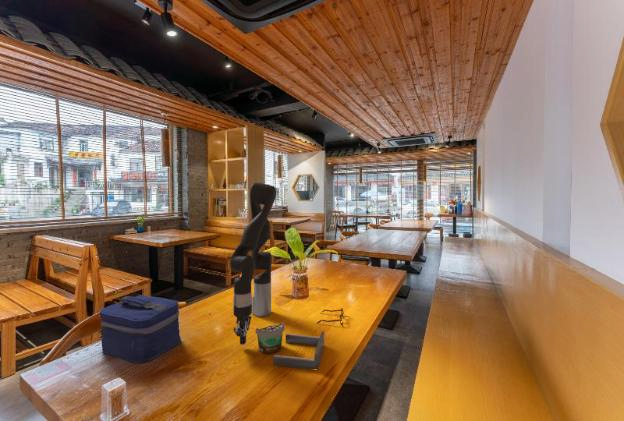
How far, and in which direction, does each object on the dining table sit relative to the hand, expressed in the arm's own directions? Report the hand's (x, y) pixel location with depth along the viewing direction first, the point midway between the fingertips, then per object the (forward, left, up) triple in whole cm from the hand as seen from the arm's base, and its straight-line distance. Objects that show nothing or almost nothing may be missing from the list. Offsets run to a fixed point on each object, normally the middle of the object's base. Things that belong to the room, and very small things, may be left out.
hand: (243, 343), depth 115 cm
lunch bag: (-42, -6, -2) cm, 43 cm away
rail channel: (+25, 0, -2) cm, 25 cm away
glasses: (+32, +34, -3) cm, 47 cm away
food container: (+13, 0, -2) cm, 13 cm away
